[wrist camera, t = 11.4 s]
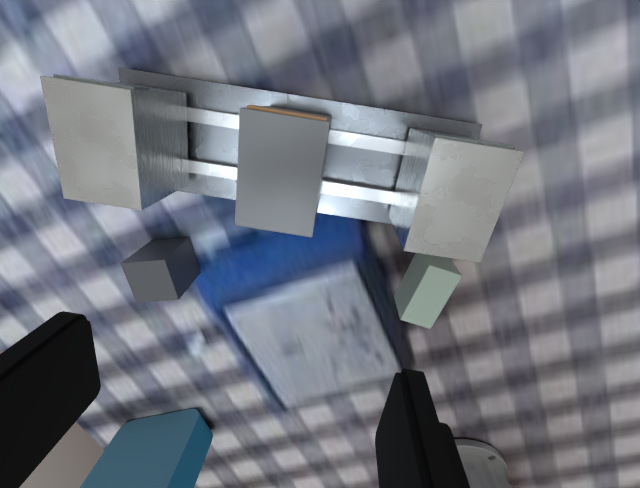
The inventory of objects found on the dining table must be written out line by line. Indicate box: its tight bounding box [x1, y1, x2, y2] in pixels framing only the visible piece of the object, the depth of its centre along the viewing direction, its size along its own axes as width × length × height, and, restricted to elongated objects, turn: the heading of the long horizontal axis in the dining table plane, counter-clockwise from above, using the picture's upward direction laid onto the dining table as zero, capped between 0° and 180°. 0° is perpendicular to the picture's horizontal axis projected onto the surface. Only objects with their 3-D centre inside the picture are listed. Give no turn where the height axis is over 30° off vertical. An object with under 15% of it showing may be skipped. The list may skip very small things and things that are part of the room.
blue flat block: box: [80, 409, 213, 488], centre depth 38 cm, size 12×4×12 cm, turn 108°
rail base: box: [40, 67, 524, 262], centre depth 23 cm, size 28×9×9 cm, turn 82°
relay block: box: [120, 237, 201, 303], centre depth 30 cm, size 4×4×5 cm
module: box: [235, 105, 332, 237], centre depth 22 cm, size 5×7×7 cm
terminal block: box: [394, 253, 462, 329], centre depth 30 cm, size 3×6×4 cm, turn 162°
